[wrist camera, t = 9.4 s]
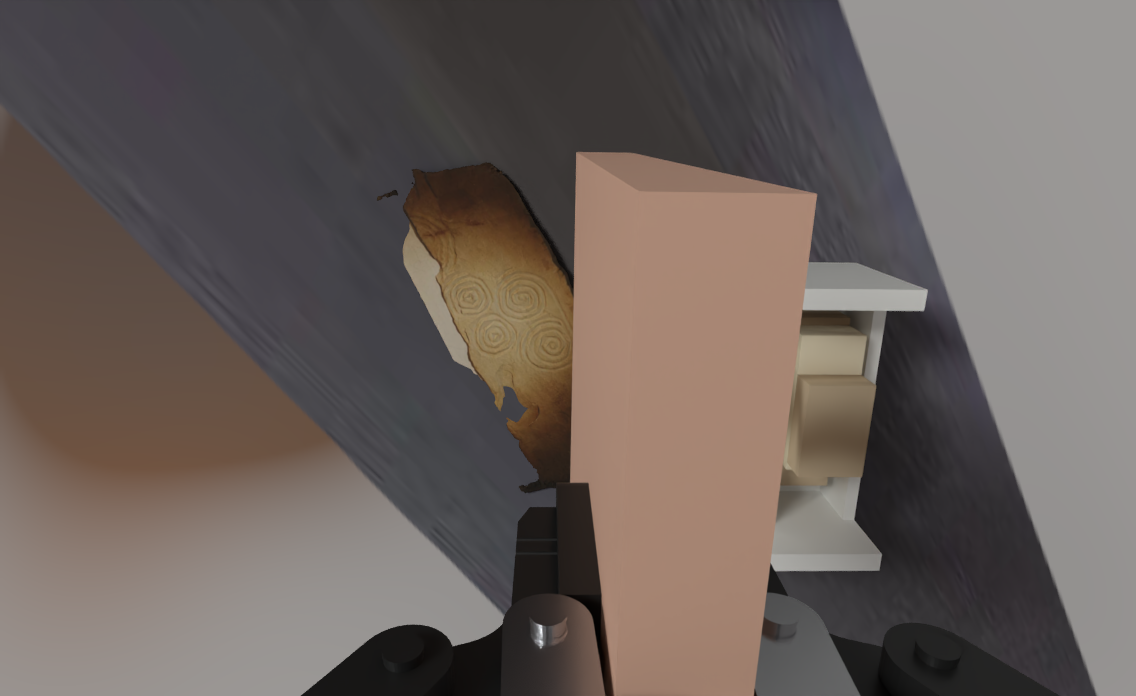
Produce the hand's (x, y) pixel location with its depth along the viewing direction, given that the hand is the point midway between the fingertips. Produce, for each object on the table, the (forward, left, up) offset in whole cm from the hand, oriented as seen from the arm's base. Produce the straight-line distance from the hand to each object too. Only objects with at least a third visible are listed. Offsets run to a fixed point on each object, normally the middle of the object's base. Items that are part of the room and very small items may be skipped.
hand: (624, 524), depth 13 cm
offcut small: (+9, +16, -27) cm, 33 cm away
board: (0, 0, -8) cm, 8 cm away
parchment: (+5, -4, -34) cm, 34 cm away
